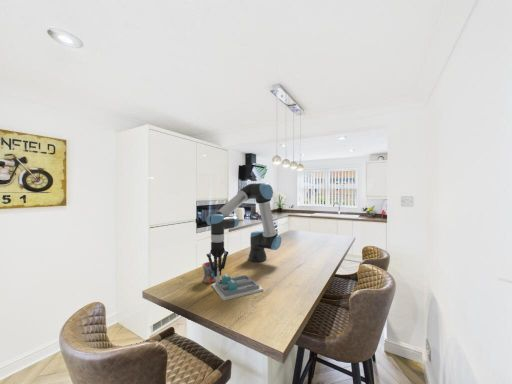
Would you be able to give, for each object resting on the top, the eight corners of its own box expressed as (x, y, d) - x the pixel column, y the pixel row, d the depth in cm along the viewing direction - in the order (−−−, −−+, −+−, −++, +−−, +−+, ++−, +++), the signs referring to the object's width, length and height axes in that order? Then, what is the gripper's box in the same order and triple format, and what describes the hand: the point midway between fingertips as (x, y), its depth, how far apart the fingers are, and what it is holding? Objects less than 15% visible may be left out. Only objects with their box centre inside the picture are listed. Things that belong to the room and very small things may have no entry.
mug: (209, 285, 129) (209, 267, 129) (199, 281, 134) (199, 264, 134) (223, 278, 139) (223, 262, 139) (212, 275, 144) (212, 259, 144)
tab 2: (234, 288, 122) (234, 278, 122) (237, 291, 118) (237, 281, 118) (227, 290, 120) (227, 280, 120) (230, 293, 116) (230, 282, 116)
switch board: (247, 277, 140) (247, 273, 140) (263, 290, 122) (263, 284, 122) (212, 285, 128) (212, 280, 128) (223, 300, 111) (223, 294, 111)
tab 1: (228, 282, 130) (228, 273, 129) (230, 285, 126) (230, 275, 126) (221, 284, 128) (221, 274, 128) (224, 286, 124) (224, 277, 124)
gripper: (225, 238, 131) (226, 277, 131) (204, 241, 124) (204, 281, 125) (230, 241, 124) (230, 281, 124) (208, 243, 118) (208, 286, 118)
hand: (217, 281), depth 124 cm, fingers closed
